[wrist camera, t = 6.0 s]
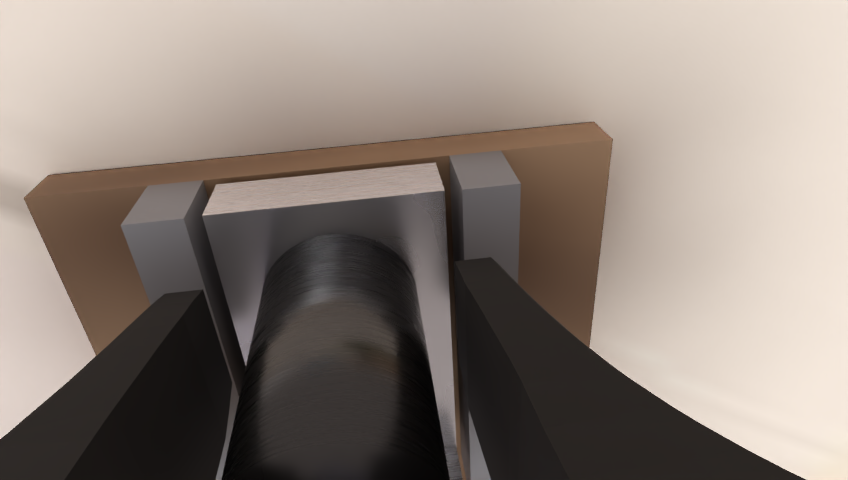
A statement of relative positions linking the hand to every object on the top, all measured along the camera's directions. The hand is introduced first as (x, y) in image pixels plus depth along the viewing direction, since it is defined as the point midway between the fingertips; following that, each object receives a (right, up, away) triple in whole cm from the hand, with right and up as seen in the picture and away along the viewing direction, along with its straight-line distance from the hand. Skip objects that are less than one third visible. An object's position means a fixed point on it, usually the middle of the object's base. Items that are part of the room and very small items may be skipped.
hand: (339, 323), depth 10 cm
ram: (0, 0, +3) cm, 3 cm away
